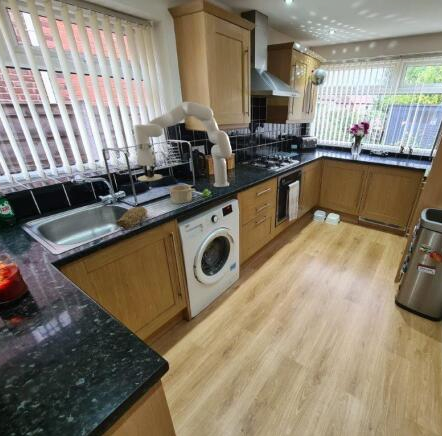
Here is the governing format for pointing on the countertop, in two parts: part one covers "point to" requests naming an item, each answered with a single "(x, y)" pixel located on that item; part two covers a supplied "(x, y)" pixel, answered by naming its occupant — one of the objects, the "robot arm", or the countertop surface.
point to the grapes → (206, 193)
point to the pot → (180, 193)
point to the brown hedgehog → (132, 217)
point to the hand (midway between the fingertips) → (150, 176)
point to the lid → (149, 177)
